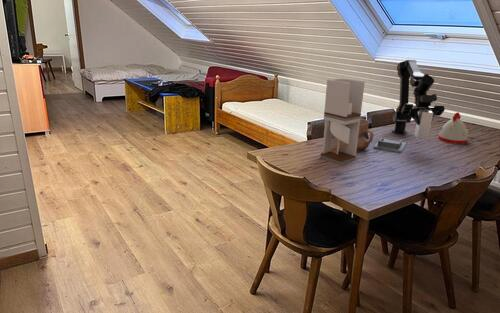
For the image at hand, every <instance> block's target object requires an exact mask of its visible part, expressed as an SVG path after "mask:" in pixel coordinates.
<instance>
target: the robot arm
mask: <svg viewBox="0 0 500 313" xmlns="http://www.w3.org/2000/svg"><path fill="white" fill-rule="evenodd" d="M396 72H397V76H398V77H399V79H400V82H399V84H400V85H399V87H400V88H399V103H398V104H399V105H398V106H397V107H396V108H395V112H394V114H393V116H392V122H394V125H395V126H394V130H391V132H392V133H396V134H401V135H403V134H406V133H408V131H407V130H406V127H407V123H408V124H409V123H410V124H411V122H412V119H413V120H414V122H415V123H416V124H418V125H419V124H420V123H419V116H418V114H419V110H424V109H428V110H430V111H432V112H433V118H432V121H433V119H434V118H435V117H436V116H437V117H440V116H442V115H443V113H444V112H445V111H446V110H445V106H444V105H443V104H442V105H441V104H435V105H434V106H433V107H430V106H431V105H432V103H433V102H436V101H437V100H438V97H437V96H438V95H437V94H436V93H433V94H428V93H427V92H429V91H430V89H431V88H432V86H433V84H434V83H435V79H434V78H433V77H432V76H430V74H429V73H422V72H421V70H420V68H419V66H418V64H417V60H415V59H409V58H408V59H406V60H404V61H400V62H399V63H398V64H397V67H396ZM410 86H411V87H412V88H414V89H413V93H412V94H413V96H414V104H413V103H409V99H410ZM432 124H433V122H432V123H431V125H432Z"/></svg>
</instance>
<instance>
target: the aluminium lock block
mask: <svg viewBox="0 0 500 313" xmlns="http://www.w3.org/2000/svg"><path fill="white" fill-rule="evenodd" d="M418 116H419V123H420V124H419V125H418V124H417V123H416V125H415V129H414V135H413V137H415V138H416V139H418V140H428V139H429V136H430V130H431V126H432V124H433V120H432V118H433V119H434V117H433V112H432V111H430V110H428V109H424V110H419V111H418ZM431 123H432V124H431Z"/></svg>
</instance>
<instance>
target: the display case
mask: <svg viewBox="0 0 500 313" xmlns="http://www.w3.org/2000/svg"><path fill="white" fill-rule="evenodd" d="M365 84H366V82H365V81H363V80H356V79H351V78H346V77H345V78H343V77H341V78H332V79H327V80H326V89H325V90H326V91H325V101H324V102H325V103H324V112H323V113H324V114H323V120H324V131H323V142H322V150H321V151H322V152H321V153H320V156H319V157H320V159H323V160H326V161H329V162H331V163H335V164H338V165H344V164H347V163H350V162H353V161H355V160H356V159H357V158H356V156H357V151H356V150H357V142H358V133H359V125H360V117H361V116H362V107H363V99H364V90H365Z"/></svg>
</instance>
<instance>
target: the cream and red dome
mask: <svg viewBox="0 0 500 313" xmlns="http://www.w3.org/2000/svg"><path fill="white" fill-rule="evenodd" d="M461 117H462V116H461V114H460V112H459V111H458V112H455V113H454V115H453V116H452V118H451V119H450V120H448V121H446V123H444V125H441V126H440V130H439V133H438V137H437V138H438V140H439V141H442V142H445V143H449V142H450V143H451V144H459V143H461V144H466V143H467V142H468V135H469V129H468V128H467V127H466V125H465V124H466V123H464V122H463V120H461ZM465 142H466V143H465Z"/></svg>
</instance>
